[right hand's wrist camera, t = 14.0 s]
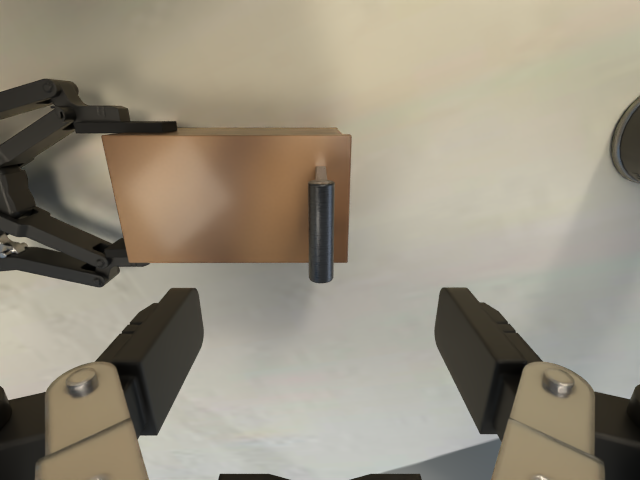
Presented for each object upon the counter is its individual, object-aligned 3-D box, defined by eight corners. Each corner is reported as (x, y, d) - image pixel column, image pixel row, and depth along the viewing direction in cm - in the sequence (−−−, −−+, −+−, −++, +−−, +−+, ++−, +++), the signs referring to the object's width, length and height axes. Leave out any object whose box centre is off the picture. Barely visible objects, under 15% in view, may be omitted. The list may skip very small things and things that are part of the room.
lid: (350, 134, 24) (364, 145, 16) (346, 257, 27) (356, 312, 20) (109, 134, 24) (14, 145, 16) (135, 257, 27) (66, 313, 20)
